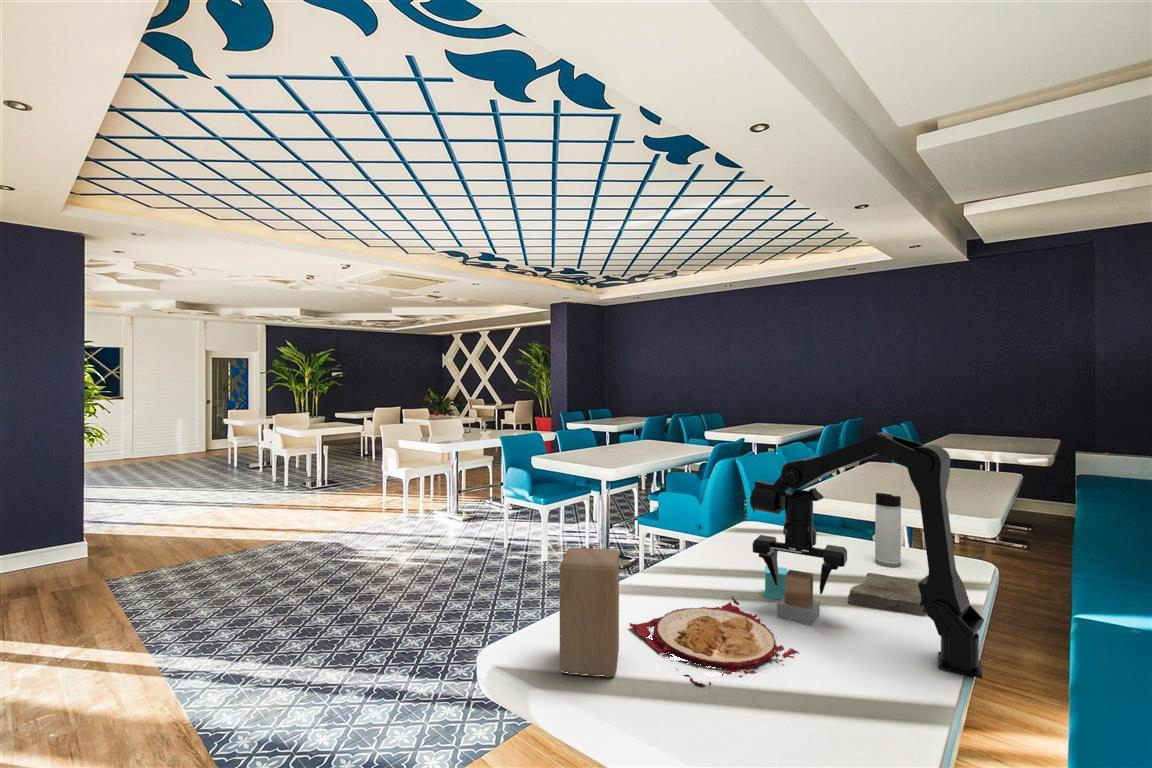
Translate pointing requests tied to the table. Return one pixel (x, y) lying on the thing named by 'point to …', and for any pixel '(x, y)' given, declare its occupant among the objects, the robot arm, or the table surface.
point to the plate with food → (713, 637)
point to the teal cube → (770, 586)
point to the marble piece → (888, 594)
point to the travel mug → (888, 530)
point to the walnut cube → (799, 588)
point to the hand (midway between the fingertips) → (798, 589)
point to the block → (589, 611)
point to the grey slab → (798, 612)
